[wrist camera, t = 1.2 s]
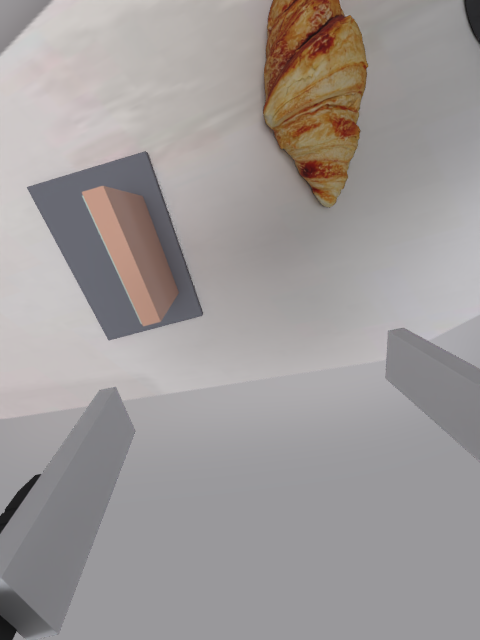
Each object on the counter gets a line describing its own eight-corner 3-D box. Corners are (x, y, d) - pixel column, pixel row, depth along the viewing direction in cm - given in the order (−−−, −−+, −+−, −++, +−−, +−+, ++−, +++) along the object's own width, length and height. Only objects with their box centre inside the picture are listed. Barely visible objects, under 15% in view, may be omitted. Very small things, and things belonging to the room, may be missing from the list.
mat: (147, 153, 27) (145, 151, 27) (202, 313, 35) (202, 315, 34) (32, 188, 28) (26, 187, 27) (110, 337, 36) (108, 340, 35)
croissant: (336, 199, 34) (396, 183, 27) (282, 225, 30) (335, 214, 23) (298, -16, 25) (372, -119, 18) (216, -16, 22) (271, -143, 15)
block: (142, 196, 28) (103, 185, 19) (178, 292, 33) (160, 321, 24) (126, 200, 28) (79, 192, 19) (164, 296, 33) (141, 326, 24)
